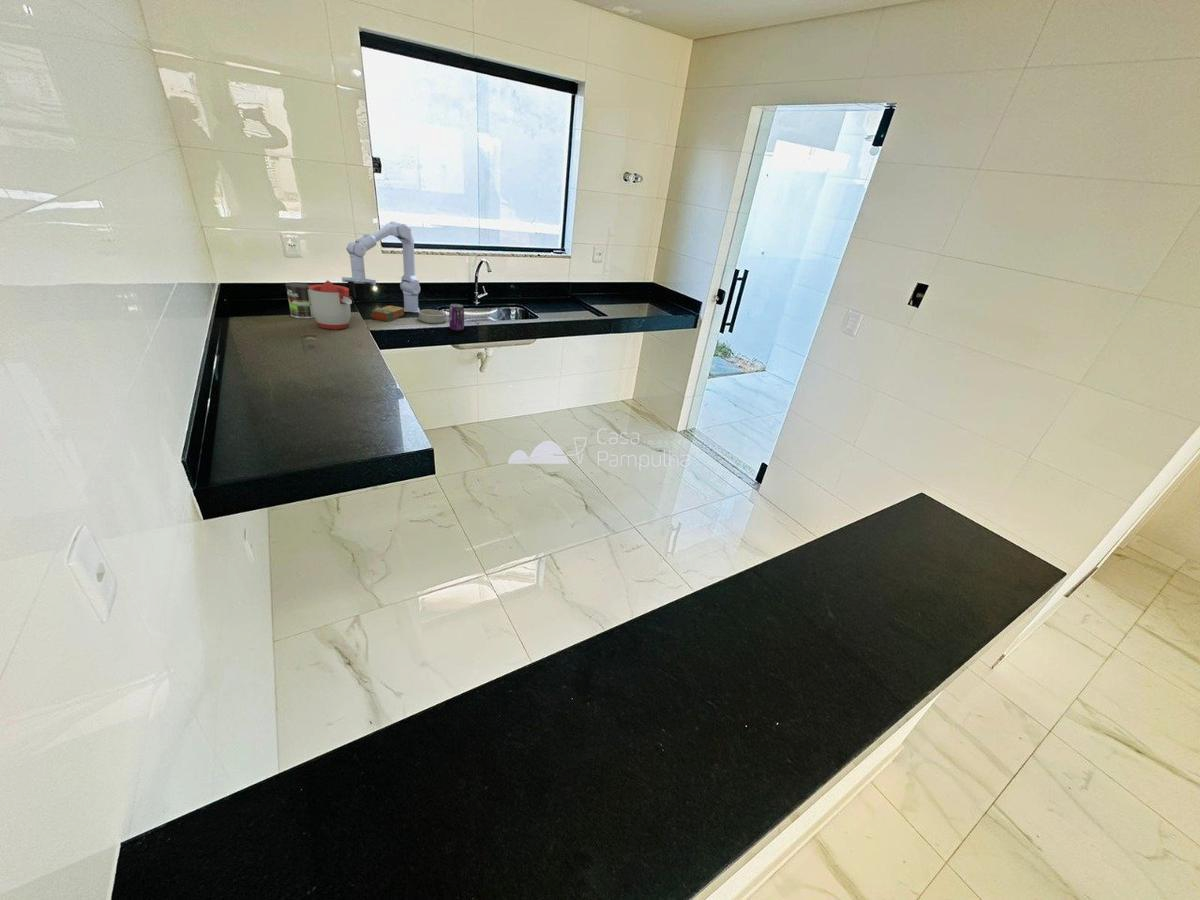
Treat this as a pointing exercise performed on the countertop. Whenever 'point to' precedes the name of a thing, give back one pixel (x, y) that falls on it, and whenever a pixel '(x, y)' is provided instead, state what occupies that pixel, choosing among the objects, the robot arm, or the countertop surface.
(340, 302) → the citrus juicer
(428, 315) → the beige round dish
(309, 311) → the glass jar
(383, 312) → the carton
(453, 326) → the beverage can
